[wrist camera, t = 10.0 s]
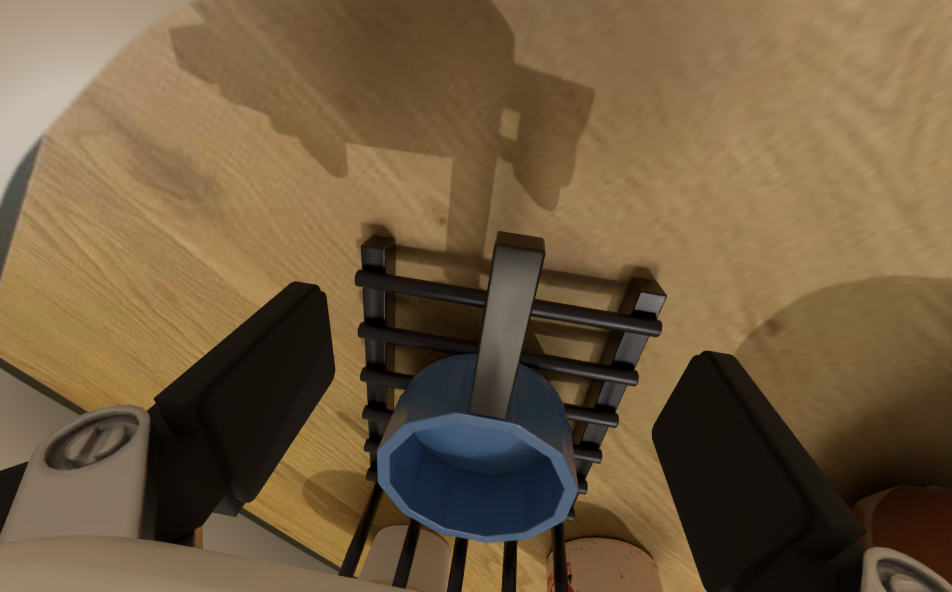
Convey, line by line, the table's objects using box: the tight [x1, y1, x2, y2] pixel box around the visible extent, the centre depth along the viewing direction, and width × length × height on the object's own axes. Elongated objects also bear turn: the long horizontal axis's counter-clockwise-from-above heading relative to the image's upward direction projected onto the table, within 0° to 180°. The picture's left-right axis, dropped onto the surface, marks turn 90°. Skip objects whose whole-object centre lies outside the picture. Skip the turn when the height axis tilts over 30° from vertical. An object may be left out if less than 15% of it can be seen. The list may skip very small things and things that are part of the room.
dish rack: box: [338, 235, 667, 592], centre depth 18 cm, size 18×14×9 cm
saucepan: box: [377, 231, 578, 543], centre depth 16 cm, size 16×9×4 cm, turn 173°
